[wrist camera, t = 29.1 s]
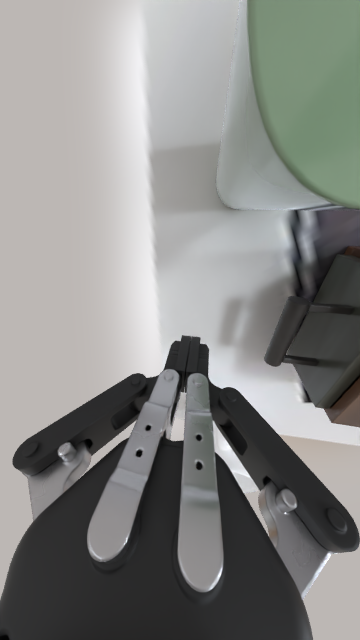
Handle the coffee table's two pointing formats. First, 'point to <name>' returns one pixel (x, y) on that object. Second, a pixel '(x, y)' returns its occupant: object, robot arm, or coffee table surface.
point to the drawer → (323, 334)
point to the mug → (233, 462)
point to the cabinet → (356, 402)
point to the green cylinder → (293, 108)
